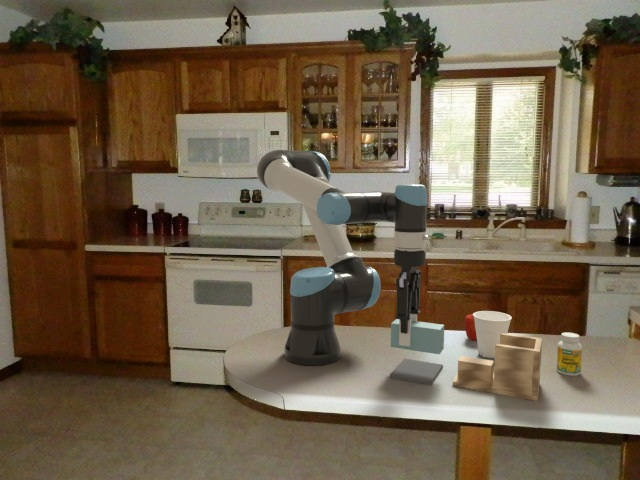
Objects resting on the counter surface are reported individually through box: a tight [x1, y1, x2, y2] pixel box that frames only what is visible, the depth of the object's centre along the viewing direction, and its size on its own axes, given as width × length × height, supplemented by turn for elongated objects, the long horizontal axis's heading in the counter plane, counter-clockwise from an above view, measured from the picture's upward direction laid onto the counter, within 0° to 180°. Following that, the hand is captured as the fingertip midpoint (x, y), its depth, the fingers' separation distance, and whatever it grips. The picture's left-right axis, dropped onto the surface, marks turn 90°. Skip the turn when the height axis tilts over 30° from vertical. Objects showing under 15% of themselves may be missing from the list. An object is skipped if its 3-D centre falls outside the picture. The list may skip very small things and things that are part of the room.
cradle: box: [452, 333, 543, 402], centre depth 115 cm, size 18×10×11 cm, turn 64°
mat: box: [389, 357, 444, 386], centre depth 123 cm, size 10×12×1 cm
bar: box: [390, 318, 445, 355], centre depth 122 cm, size 12×4×6 cm, turn 64°
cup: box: [472, 310, 512, 359], centre depth 135 cm, size 10×10×11 cm
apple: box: [464, 313, 477, 342], centre depth 148 cm, size 6×6×8 cm
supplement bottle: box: [556, 332, 583, 377], centre depth 123 cm, size 5×5×10 cm
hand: (407, 341), depth 123 cm, fingers closed on bar, 4 cm apart
